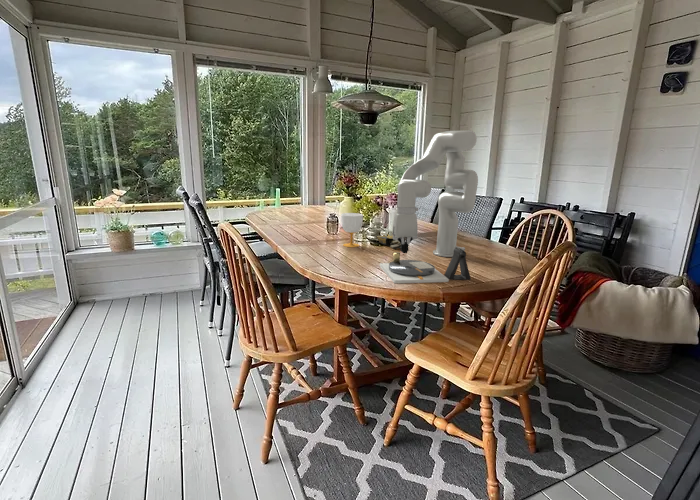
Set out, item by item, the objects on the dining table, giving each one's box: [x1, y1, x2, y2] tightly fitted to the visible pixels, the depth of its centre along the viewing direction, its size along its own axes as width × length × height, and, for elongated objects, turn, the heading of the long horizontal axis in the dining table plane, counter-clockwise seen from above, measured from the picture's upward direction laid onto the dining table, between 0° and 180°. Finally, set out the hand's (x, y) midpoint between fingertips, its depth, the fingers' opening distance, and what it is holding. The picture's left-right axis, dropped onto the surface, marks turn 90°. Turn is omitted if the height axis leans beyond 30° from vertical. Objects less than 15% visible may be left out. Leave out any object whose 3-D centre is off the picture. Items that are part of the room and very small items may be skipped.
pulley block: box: [377, 234, 405, 250], centre depth 213 cm, size 14×6×30 cm
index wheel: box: [389, 251, 436, 276], centre depth 160 cm, size 19×19×6 cm
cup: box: [340, 212, 364, 248], centre depth 206 cm, size 12×12×17 cm
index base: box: [379, 262, 450, 284], centre depth 160 cm, size 22×24×2 cm
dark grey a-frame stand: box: [443, 248, 471, 281], centre depth 154 cm, size 9×6×12 cm, turn 94°
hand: (404, 252), depth 166 cm, fingers closed
